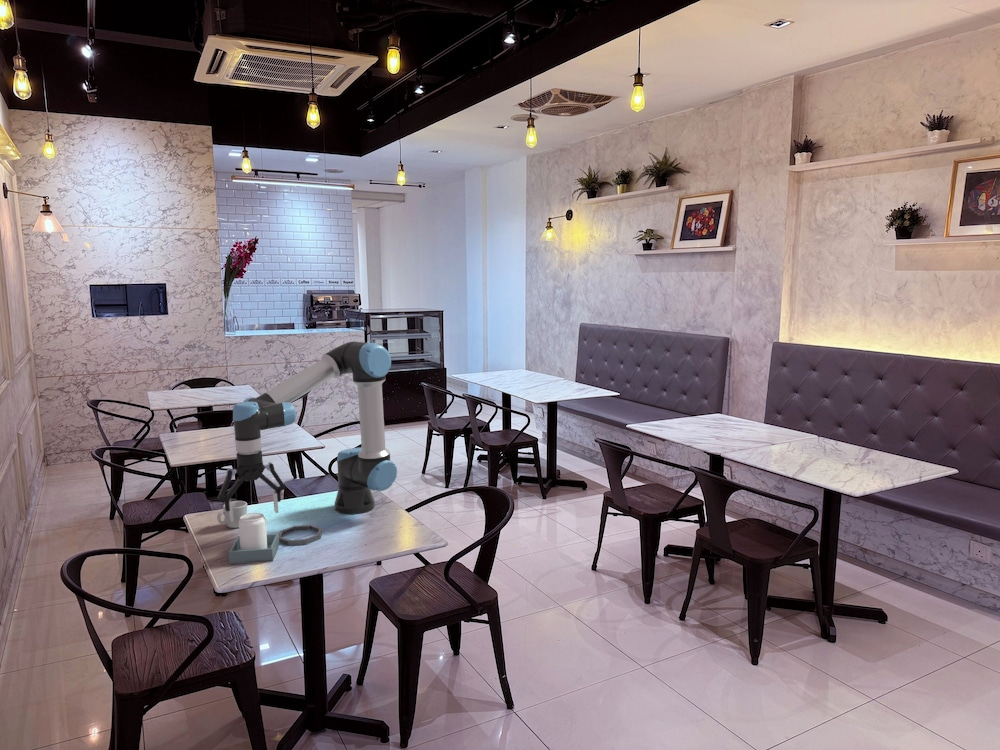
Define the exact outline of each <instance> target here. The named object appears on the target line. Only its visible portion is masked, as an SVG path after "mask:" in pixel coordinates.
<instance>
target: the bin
mask: <svg viewBox="0 0 1000 750" xmlns="http://www.w3.org/2000/svg"><path fill="white" fill-rule="evenodd" d="M266 534H267V549H252V550H240V537H239V535H238V536H237V537H236V538H235V540H234V542H233V544H232V545H231V547H230V549H229V550H228V560H229V561H228V563H229V565H235V564H250V563H251V564H253V563H265V562H273V561H274V559H275V557H276V555H277V552H278V550H279V547H280V542H279V533H266Z"/></svg>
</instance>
